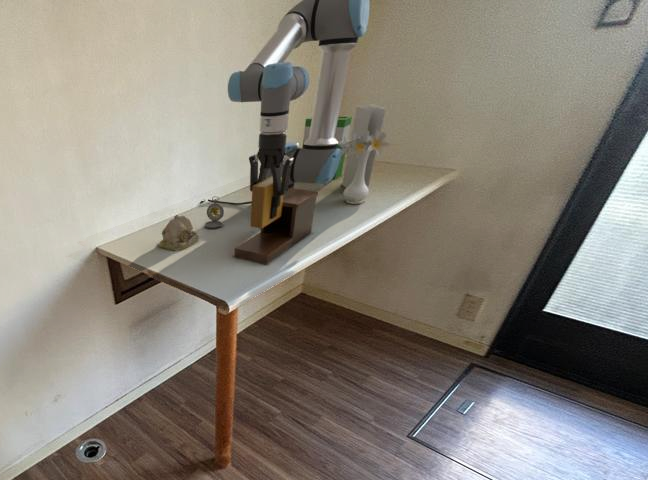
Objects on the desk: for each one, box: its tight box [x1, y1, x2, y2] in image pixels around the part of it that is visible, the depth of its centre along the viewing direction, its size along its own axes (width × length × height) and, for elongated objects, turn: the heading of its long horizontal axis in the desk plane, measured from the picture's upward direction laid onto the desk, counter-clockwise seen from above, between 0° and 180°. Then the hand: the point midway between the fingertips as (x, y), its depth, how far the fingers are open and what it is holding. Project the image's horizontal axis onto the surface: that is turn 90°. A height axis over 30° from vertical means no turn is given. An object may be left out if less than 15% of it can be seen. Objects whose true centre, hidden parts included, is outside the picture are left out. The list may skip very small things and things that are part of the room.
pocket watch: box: [204, 196, 225, 229], centre depth 158 cm, size 8×8×10 cm
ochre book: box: [249, 176, 283, 230], centre depth 128 cm, size 4×12×12 cm, turn 137°
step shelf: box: [234, 188, 319, 266], centre depth 137 cm, size 13×30×14 cm, turn 137°
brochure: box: [341, 103, 387, 189], centre depth 170 cm, size 14×6×30 cm, turn 179°
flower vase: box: [338, 130, 390, 205], centre depth 159 cm, size 13×18×25 cm
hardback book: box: [301, 115, 353, 180], centre depth 191 cm, size 18×7×24 cm, turn 50°
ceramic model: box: [158, 214, 199, 251], centre depth 147 cm, size 14×11×10 cm
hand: (266, 216), depth 130 cm, fingers closed on ochre book, 4 cm apart
